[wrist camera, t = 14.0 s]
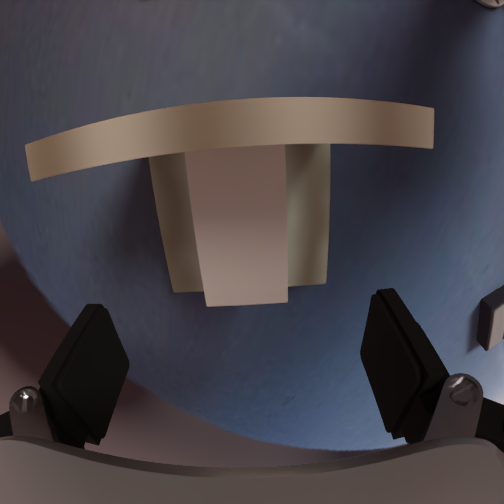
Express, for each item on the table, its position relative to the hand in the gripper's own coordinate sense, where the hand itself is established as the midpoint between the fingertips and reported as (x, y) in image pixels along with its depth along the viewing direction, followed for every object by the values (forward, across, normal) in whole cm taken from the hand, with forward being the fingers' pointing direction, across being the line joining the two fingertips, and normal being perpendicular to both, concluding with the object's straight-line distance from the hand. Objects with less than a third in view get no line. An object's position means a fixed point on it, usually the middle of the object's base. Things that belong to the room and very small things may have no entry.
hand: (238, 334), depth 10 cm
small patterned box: (+23, -46, +22) cm, 56 cm away
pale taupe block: (+18, 0, 0) cm, 18 cm away
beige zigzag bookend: (+22, 0, +2) cm, 22 cm away
